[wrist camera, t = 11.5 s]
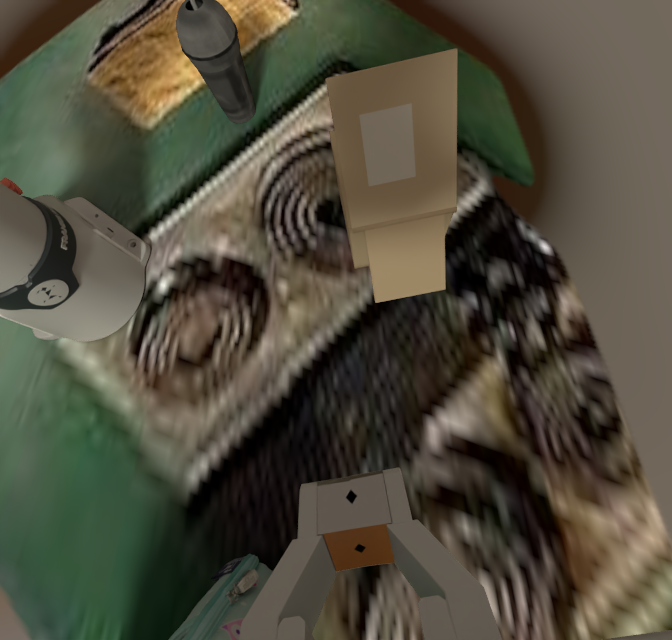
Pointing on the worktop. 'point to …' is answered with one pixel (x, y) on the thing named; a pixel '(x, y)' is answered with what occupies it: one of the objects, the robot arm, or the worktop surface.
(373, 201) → the lid
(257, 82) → the worktop surface
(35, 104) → the worktop surface
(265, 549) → the worktop surface
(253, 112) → the beverage cup
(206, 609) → the lunch box
